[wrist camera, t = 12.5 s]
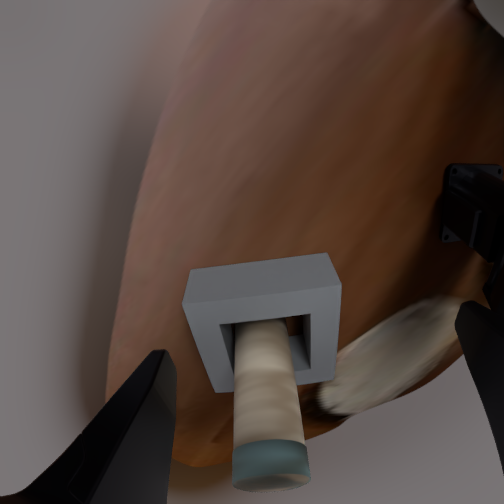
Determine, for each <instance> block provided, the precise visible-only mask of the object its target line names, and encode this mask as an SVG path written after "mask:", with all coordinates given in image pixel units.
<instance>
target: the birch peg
mask: <svg viewBox="0 0 504 504" xmlns="http://www.w3.org/2000/svg"><path fill="white" fill-rule="evenodd" d="M310 480H311V477H310V470H309V463H308V455H307V448H306V446H305V441H304V434H303V427H302V420H301V413H300V406H299V400H298V393H297V387H296V380H295V374H294V367H293V361H292V355H291V349H290V342H289V336H288V330H287V324H286V318H285V317H281V318H273V319H265V320H256V321H247V322H238V323H236V324H235V372H234V451H233V479H232V484H233V486H234V487H235V488H237V489H240V490H243V491H250V492H277V491H285V490H290V489H294V488H298V487H301V486H303V485H305V484H307V483H308V482H310Z"/></svg>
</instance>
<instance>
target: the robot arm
mask: <svg viewBox="0 0 504 504" xmlns="http://www.w3.org/2000/svg"><path fill="white" fill-rule="evenodd" d="M453 169H454V172H453V173H452V170H453ZM502 176H503V168H502V166H500V165H498V164H466V163H452V164H450V165H449V166H448V167H447V176H446V188H445V197H444V206H443V214H442V222H441V229H440V235H439V238H440V240H441V241H442V242H444V243H448V242H454V241H461V240H462V241H463V242H464V243H465V244H466V245H468V246H469V247H470V248H473V249H474V250H475V251H476V252H477V253H478V254H479V255H480V256H482V257H483V258H484V259H485V260H486V261H487V262H488V263H490V262H492V263H493V267H492V269H491V272H490V274H489V277H488V279H487V282H486V283H485V284H484V286H483V289H482V290H483V292H484V295H485V297H486V299H487V301H488V304H489V306H490V308H491V310H490V309H488V308H486V307H484V306H482V305H481V304H479V303H477V302H475V301H467V302H464V303H462V304H461V306H460V309H459V312H458V314H457V317H456V320H455V330H456V333H457V335H458V338H459V341H460V344H461V347H462V350H463V353H464V356H465V359H466V362H467V365H468V367H469V370H470V373H471V375H472V378H473V380H474V382H475V385H476V387H477V390H478V393H479V395H480V398H481V400H482V403H483V406H484V409H485V412H486V415H487V417H488V421H489V423H490V427H491V430H492V433H493V436H494V439H495V443H496V446H497V450H498V453H499V457H500V461H501V465H502V470H503V474H504V181H503V180H502ZM445 235H446V237H445ZM444 237H445V238H444ZM176 383H177V371H176V367H175V365H174V363H173V361H172V359H171V357H170V355H169V353H168V351H167V350H165V349H161V350H153V351H151V352H150V354H149V355H148V356H147V357H146V358H145V359H144V360H143V362H142V363H141V364H140V365H139V366H138V367H137V368H136V370H135V371H134V372H133V373H132V374H131V375H130V376H129V378H128V379H127V380H126V381H125V382H124V383H123V384H122V386H121V387H120V388H119V389H118V390H117V391H116V393H115V394H114V395H113V396H112V397H111V398H110V399H109V401H108V402H107V403H106V404H105V405H104V406H103V408H102V409H101V410H100V411H99V412H98V413H97V415H96V416H95V417H94V418H93V419H92V420H91V421H90V423H89V424H88V425H87V426H86V427H85V429H84V430H83V431H82V434H79V435H78V436H77V438H76V439H75V440H74V441H73V442H72V443H71V445H70V446H69V447H68V448H67V449H66V450H65V451H64V452H63V453H62V454H61V455H60V456H59V457H58V458H57V459H56V460H55V461H54V462H53V463H52V464H51V465H50V466H49V467H48V468H47V469H46V470H45V471H44V472H43V473H42V474H41V475H39V476H38V477H37V478H36V479H35V480H34V481H33V482H32V483H31V484H30V485H29V486H27V487H26V488H25V489H23V490H22V491H19V492H17V493H15V494H11V495H6V496H0V504H167V493H168V483H169V473H170V463H171V455H172V447H173V438H174V430H175V422H176Z"/></svg>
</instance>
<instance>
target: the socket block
mask: <svg viewBox="0 0 504 504" xmlns="http://www.w3.org/2000/svg"><path fill="white" fill-rule="evenodd" d="M341 286H342V284H341V282H340V280H339V278H338V275H337V273H336V271H335V269H334V267H333V265H332V262H331V260H330V258H329V256H328V254H327V253H319V254H311V255H304V256H296V257H288V258H280V259H272V260H264V261H257V262H249V263H240V264H232V265H224V266H216V267H208V268H200V269H191V271H190V274H189V278H188V282H187V286H186V290H185V294H184V297H183V301H182V306H183V309H184V312H185V314H186V317H187V320H188V323H189V326H190V329H191V331H192V334H193V337H194V340H195V342H196V345H197V348H198V350H199V353H200V356H201V358H202V361H203V363H204V366H205V368H206V371H207V374H208V376H209V379H210V381H211V383H212V386H213V388H214V391H215V393H223V392H234V372H235V339H234V335H233V331H232V327H231V323H238V322H247V321H256V320H265V319H273V318H281V317H289V316H296V315H303V334H302V335H294V336H289V342H290V349H291V355H292V361H293V367H294V374H295V380H296V385H302V384H309V383H315V382H322V381H328V380H333V379H334V374H335V365H336V355H337V344H338V333H339V320H340V305H341Z"/></svg>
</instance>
